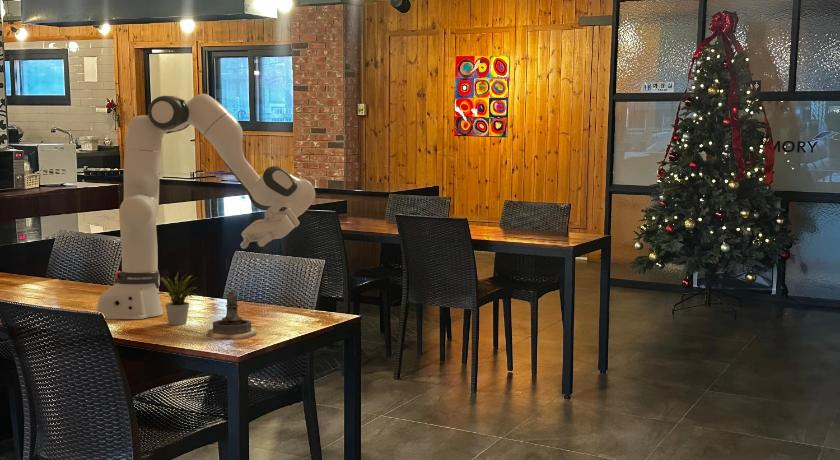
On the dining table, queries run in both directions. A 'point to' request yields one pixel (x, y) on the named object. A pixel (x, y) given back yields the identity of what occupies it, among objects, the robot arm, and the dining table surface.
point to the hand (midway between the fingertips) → (250, 245)
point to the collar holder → (231, 330)
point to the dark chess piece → (232, 310)
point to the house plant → (177, 300)
